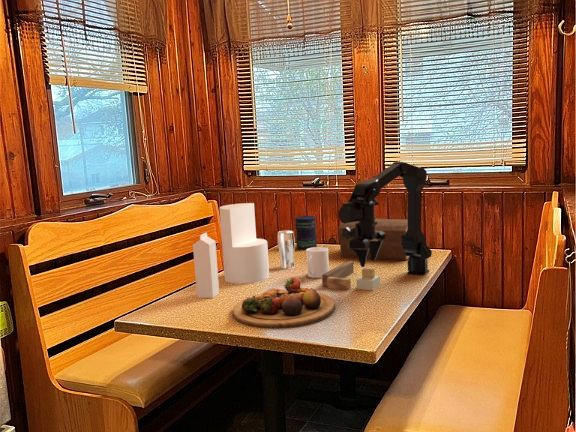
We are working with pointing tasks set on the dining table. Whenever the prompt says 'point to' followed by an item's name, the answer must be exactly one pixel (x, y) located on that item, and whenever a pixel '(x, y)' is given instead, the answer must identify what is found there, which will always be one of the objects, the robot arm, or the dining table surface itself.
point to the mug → (317, 261)
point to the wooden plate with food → (284, 307)
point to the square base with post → (368, 280)
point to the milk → (206, 267)
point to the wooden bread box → (390, 245)
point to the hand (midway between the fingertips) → (368, 263)
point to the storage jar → (305, 232)
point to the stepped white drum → (242, 245)
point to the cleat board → (338, 277)
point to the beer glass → (286, 248)
